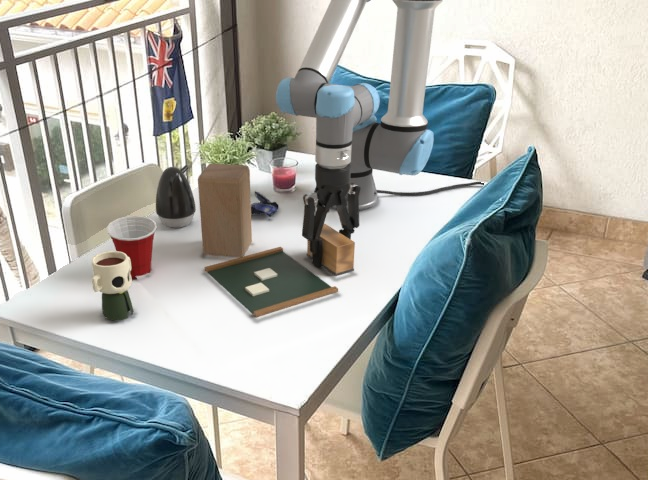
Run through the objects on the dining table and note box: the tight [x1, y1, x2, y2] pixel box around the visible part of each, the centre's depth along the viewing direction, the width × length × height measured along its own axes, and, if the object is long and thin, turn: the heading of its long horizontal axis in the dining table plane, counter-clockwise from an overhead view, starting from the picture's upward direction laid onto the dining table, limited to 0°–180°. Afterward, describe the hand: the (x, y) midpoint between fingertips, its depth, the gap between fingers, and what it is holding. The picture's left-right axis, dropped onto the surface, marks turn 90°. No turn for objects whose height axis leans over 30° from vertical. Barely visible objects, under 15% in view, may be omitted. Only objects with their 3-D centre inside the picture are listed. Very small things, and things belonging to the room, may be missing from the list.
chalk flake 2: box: [245, 283, 269, 296], centre depth 149 cm, size 4×4×1 cm
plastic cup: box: [106, 215, 158, 280], centre depth 155 cm, size 11×11×12 cm
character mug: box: [91, 250, 135, 322], centre depth 140 cm, size 11×7×13 cm, turn 150°
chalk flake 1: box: [254, 268, 277, 281], centre depth 155 cm, size 4×4×1 cm
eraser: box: [306, 223, 356, 277], centre depth 158 cm, size 5×12×8 cm, turn 30°
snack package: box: [251, 190, 280, 220], centre depth 186 cm, size 12×6×12 cm
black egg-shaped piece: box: [155, 164, 197, 229], centre depth 178 cm, size 10×10×15 cm
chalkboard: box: [204, 246, 339, 318], centre depth 153 cm, size 20×24×2 cm
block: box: [197, 162, 253, 258], centre depth 163 cm, size 10×10×20 cm
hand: (329, 261), depth 160 cm, fingers open, 6 cm apart
